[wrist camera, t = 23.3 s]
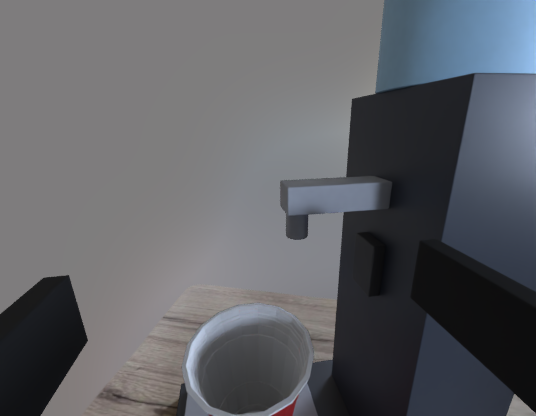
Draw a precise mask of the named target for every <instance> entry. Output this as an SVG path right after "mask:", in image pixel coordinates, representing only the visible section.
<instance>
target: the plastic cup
mask: <svg viewBox="0 0 536 416" xmlns="http://www.w3.org/2000/svg"><path fill="white" fill-rule="evenodd" d="M313 357H314V350H313V346H312V343H311V339H310V335H309V332H308V330H307V329H306V328H305V327H304V326H303V324H302V323H301V322H300V321H299V320H298V318H297V317H296V316H295V315H293V314H291V313H289V312H287V311H286V310H284V309H282V308H280V307H278V306H273V305H268V304H262V303H251V304H241V305H236V306H233V307H231V308H228V309H226V310H223V311H221V312H218V313H217V314H215V315H214V316H213V317H211V318H210V319H209V320H207V321H206V322H205V323H203V324H202V325H201V326H200V327H199V328H198V330H197V331H196V333H195V334H194V335H193V337H192V338H191V340H190V341H189V343H188V344H187V347H186V351H185V355H184V359H183V363H182V372H183V377H184V381H185V386H186V391H187V392H188V393H189V395H190V396H191V397H192V398H193V399H194V400H195V401H196V402H197V403H198V405H199V406H200V407H201V408H202V409H203V410H204V411H205V412H206V413H207V414H208V415H209V416H293V412H294V408H295V404H296V400H297V399H298V396H299V393H300V391H301V390H302V389H303V387H304V386H305V384H306V383H307V381H308V380H309V378H310V374H311V368H312V362H313Z"/></svg>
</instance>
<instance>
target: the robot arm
mask: <svg viewBox="0 0 536 416" xmlns="http://www.w3.org/2000/svg"><path fill="white" fill-rule="evenodd" d="M410 298H411V299H412V300H413V301H415V302H416V303H417V304H418V305H419V306H420V307H421V308H422V309H423V310H424V311H425V312H426V313H428V314H429V315H430V316H431V317H432V318H433V319H434V320H435V321H436V322H437V323H438V324H440V325H441V326H442V327H443V328H444V329H445V330H446V331H447V332H448V333H449V334H450V335H451V336H453V337H454V338H455V339H456V340H457V341H458V342H459V343H460V344H461V345H462V346H463V347H465V348H466V349H467V350H468V351H469V352H470V353H471V354H472V355H473V356H474V357H475V358H476V359H478V360H479V361H480V362H481V363H482V364H483V365H484V366H485V367H486V368H487V369H488V370H490V371H491V372H492V373H493V374H494V375H495V376H496V377H497V378H498V379H499V380H500V381H501V382H503V383H504V384H505V385H506V386H507V387H508V388H509V389H510V390H511V391H512V392H513V393H515V394H516V395H517V396H518V397H519V398H520V399H521V400H522V401H523V402H524V403H525V404H526V405H528V406H529V407H530V408H531V409H532V410H533V411H534V412H535V413H536V292H535V291H533V290H532V289H530V288H528V287H526V286H524V285H522V284H520V283H518V282H517V281H515V280H513V279H511V278H509V277H507V276H505V275H503V274H501V273H500V272H498V271H496V270H494V269H492V268H490V267H488V266H486V265H485V264H483V263H481V262H479V261H477V260H475V259H473V258H471V257H469V256H468V255H466V254H464V253H462V252H460V251H458V250H456V249H454V248H453V247H451V246H449V245H447V244H445V243H443V242H441V241H439V240H438V239H430V240H420V241H419V247H418V253H417V259H416V265H415V271H414V277H413V283H412V289H411V295H410ZM87 341H88V339H87V336H86V333H85V329H84V325H83V322H82V319H81V315H80V312H79V308H78V305H77V302H76V298H75V295H74V291H73V288H72V285H71V281H70V278H69V275H67V276H57V277H47V278H43V279H42V280H40V281H39V282H38V283H37V284H36V285H34V286H33V287H32V288H31V289H30V290H29V291H27V292H26V293H25V294H24V295H23V296H21V297H20V298H19V299H18V300H17V301H16V302H14V303H13V304H12V305H11V306H10V307H8V308H7V309H6V310H5V311H4V312H2V313H1V314H0V416H40V415H41V414H42V412H43V411H44V409H45V407H46V406H47V404H48V403H49V401H50V400H51V398H52V396H53V395H54V393H55V392H56V390H57V389H58V387H59V385H60V384H61V382H62V381H63V379H64V377H65V376H66V374H67V373H68V371H69V369H70V368H71V366H72V365H73V363H74V362H75V360H76V358H77V357H78V355H79V354H80V352H81V351H82V349H83V347H84V346H85V344H86V343H87Z"/></svg>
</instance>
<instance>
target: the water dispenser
mask: <svg viewBox="0 0 536 416" xmlns="http://www.w3.org/2000/svg"><path fill="white" fill-rule="evenodd" d="M375 93H376V94H373V95H368V96H364V97H360V98H355V99H352V107H351V121H350V135H349V148H348V161H347V162H348V163H347V176H346V177H343V178H322V179H304V180H303V179H302V180H284V181H281V182H280V187H281V188H280V189H281V191H280V195H281V196H280V198H281V199H280V200H281V201H280V202H281V207H282V209H283V210H284V211H285V213H286V236H287V237H288V238H290V239H294V240H301V239H305V238H306V237H307V236H308V215H309V214H321V213H322V214H323V213H336V212H344V216H343V230H342V244H341V257H340V271H339V284H338V297H337V311H336V324H335V338H334V351H333V360H328V361H321V362H315V363H312V368H311V374H310V378H309V380H308V381H307V383H306V384H305V386H304V387H303V389H302V390H301V391H300V393H299V396H298V399H297V400H296V404H295V408H294V412H293V416H506V415H507V412H508V409H509V406H510V403H511V401H512V398H513V395H514V393H513V392H512V391H511V390H510V389H509V388H508V387H507V386H506V385H505V384H504V383H503V382H501V381H500V380H499V379H498V378H497V377H496V376H495V375H494V374H493V373H492V372H491V371H490V370H488V369H487V368H486V367H485V366H484V365H483V364H482V363H481V362H480V361H479V360H478V359H476V358H475V357H474V356H473V355H472V354H471V353H470V352H469V351H468V350H467V349H466V348H465V347H463V346H462V345H461V344H460V343H459V342H458V341H457V340H456V339H455V338H454V337H453V336H451V335H450V334H449V333H448V332H447V331H446V330H445V329H444V328H443V327H442V326H441V325H440V324H438V323H437V322H436V321H435V320H434V319H433V318H432V317H431V316H430V315H429V314H428V313H426V312H425V311H424V310H423V309H422V308H421V307H420V306H419V305H418V304H417V303H416V302H415V301H413V300H412V299H411V298H410V295H411V289H412V283H413V277H414V271H415V265H416V259H417V253H418V247H419V241H420V240H430V239H438V240H439V241H441V242H443V243H445V244H447V245H449V246H451V247H453V248H454V249H456V250H458V251H460V252H462V253H464V254H466V255H468V256H469V257H471V258H473V259H475V260H477V261H479V262H481V263H483V264H485V265H486V266H488V267H490V268H492V269H494V270H496V271H498V272H500V273H501V274H503V275H505V276H507V277H509V278H511V279H513V280H515V281H517V282H518V283H520V284H522V285H524V286H526V287H528V288H530V289H532V290H533V291H535V292H536V0H385V1H384V10H383V21H382V30H381V41H380V51H379V62H378V71H377V82H376V92H375ZM176 416H209V415H208V414H207V413H206V412H205V411H204V410H203V409H202V408H201V407H200V406H199V405H198V403H197V402H196V401H195V400H194V399H193V398H192V397H191V396H190V395H189V393H188V392H187V391H186V386H185V383H184V384H181V390H180V396H179V402H178V408H177V415H176Z"/></svg>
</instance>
